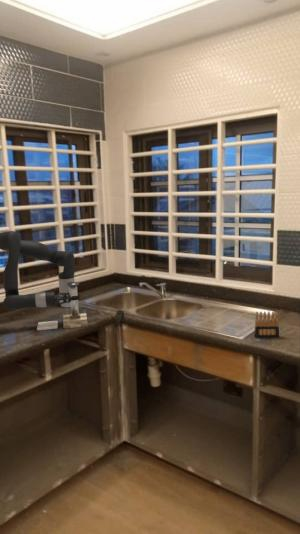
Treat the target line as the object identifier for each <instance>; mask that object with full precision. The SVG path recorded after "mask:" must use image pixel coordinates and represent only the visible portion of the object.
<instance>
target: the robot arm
mask: <svg viewBox="0 0 300 534" xmlns="http://www.w3.org/2000/svg"><path fill="white" fill-rule="evenodd" d="M0 250H1V251H4V252H5V251H6V252H8V257H7V262H6V264H5V267H4V269H3V275H2V277H3V278H2V280H3V282H2V283H3V289H4V293H5V294H4V295H5V298H4V299H3V304H2V305H3V306H4V308H5V309H7V310H17V309H31V308H47V307H49V308H50V307H56V303H59V305H60V307H61V308H71V304H70V302H71V301H73V300H78V301H80V299H81V298H80V293H79V292H77V293H78V296H70V292H69V286H67V283H69V282H75V272H76V266H75V265H76V263H75V261H76V259H75V255H74V253H73V252H72V251H66V250H55V249H51V248H50V247H49V246H48V245H46V244H44V243H42V242H40V241H35V240H23V239H21V236H20V234H19V233H18V232H17V231H15V230H9V231H6V232H1V233H0ZM20 255H23V256H27V257H29V258H32V259H36V260H38V261H39V260H40V261H43V262H49V263H50V264H51V263H52V264H53V265H55V266H58V267H63V269H62V272H59V273H58V275H57V276H58V277H57V278H58V288H59V293H58V294H55V291H45V292H44V291H43V292H41V291H40V292H38V293H37V292H36V293H28V294H20V292H19V274H18V273H19V259H20Z"/></svg>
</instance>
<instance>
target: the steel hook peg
mask: <svg viewBox="0 0 300 534" xmlns="http://www.w3.org/2000/svg"><path fill="white" fill-rule="evenodd" d="M79 285H80V283H79V281H74V282H69V283H67V286H69V292H70V296H78V293H79V292H78V286H79ZM70 304H71V307H70V314H71V315H72V316H77V315H79V314H80V308H79V306H80V305H79V300H73V301H71V302H70Z"/></svg>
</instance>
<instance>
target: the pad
mask: <svg viewBox="0 0 300 534" xmlns="http://www.w3.org/2000/svg"><path fill="white" fill-rule="evenodd" d="M58 328H59V321H58V320H52V321H51V320H49V321H39V322H38V323H37V327H36V330H37V331H45V330H57V329H58Z"/></svg>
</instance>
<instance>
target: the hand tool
mask: <svg viewBox="0 0 300 534" xmlns="http://www.w3.org/2000/svg"><path fill="white" fill-rule="evenodd" d="M124 317H125V312H124V311H123V310H121V309H119V310H117V311H116V314H115V315H114V317H113V327H114V328H118V327H119V326H120V322H121V321H122V318H124Z"/></svg>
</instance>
